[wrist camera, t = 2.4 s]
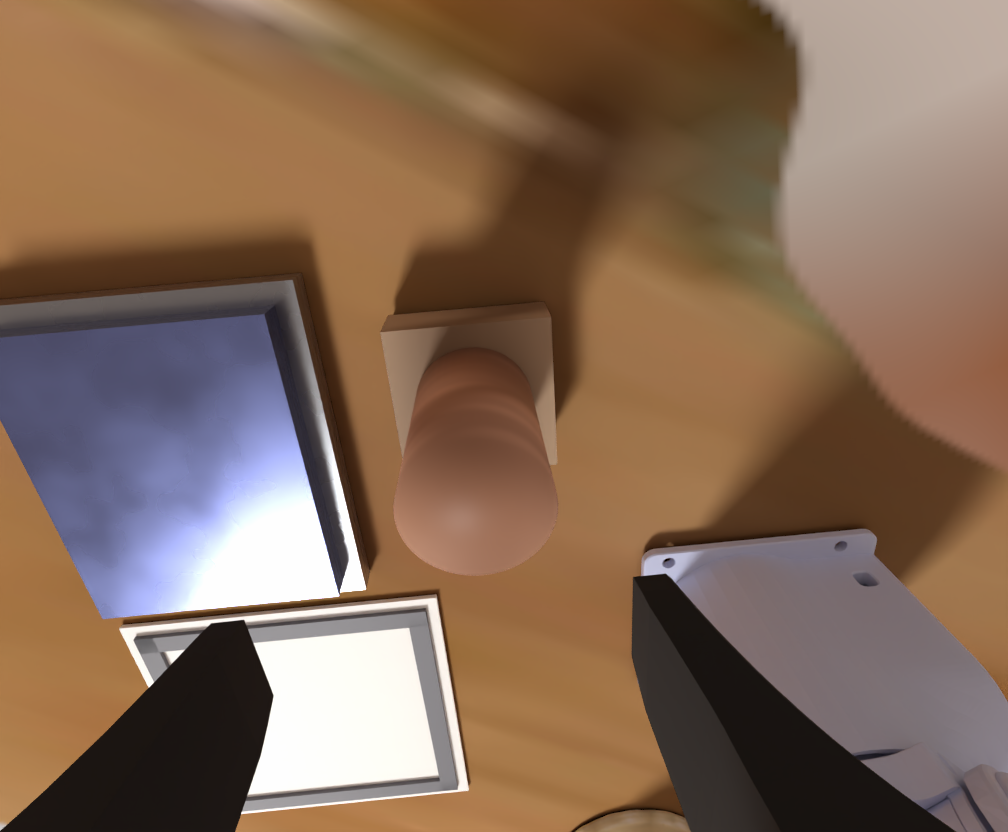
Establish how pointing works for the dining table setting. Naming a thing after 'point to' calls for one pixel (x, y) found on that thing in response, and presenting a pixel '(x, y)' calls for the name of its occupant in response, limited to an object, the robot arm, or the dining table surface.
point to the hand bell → (638, 822)
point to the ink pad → (183, 443)
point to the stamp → (474, 434)
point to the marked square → (340, 700)
